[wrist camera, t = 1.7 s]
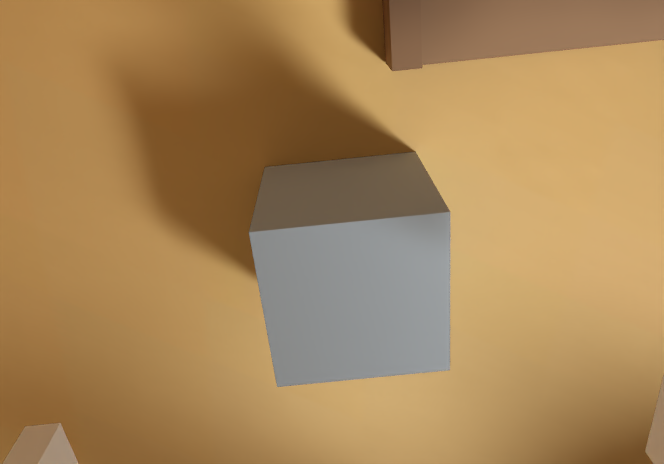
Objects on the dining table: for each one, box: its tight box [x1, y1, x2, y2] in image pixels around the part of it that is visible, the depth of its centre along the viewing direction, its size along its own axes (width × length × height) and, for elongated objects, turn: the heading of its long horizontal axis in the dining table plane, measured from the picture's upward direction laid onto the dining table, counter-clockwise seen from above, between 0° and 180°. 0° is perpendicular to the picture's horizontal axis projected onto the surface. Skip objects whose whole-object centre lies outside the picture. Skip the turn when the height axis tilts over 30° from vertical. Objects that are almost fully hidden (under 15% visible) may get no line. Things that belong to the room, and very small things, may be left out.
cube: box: [249, 152, 450, 387], centre depth 20 cm, size 6×6×6 cm
